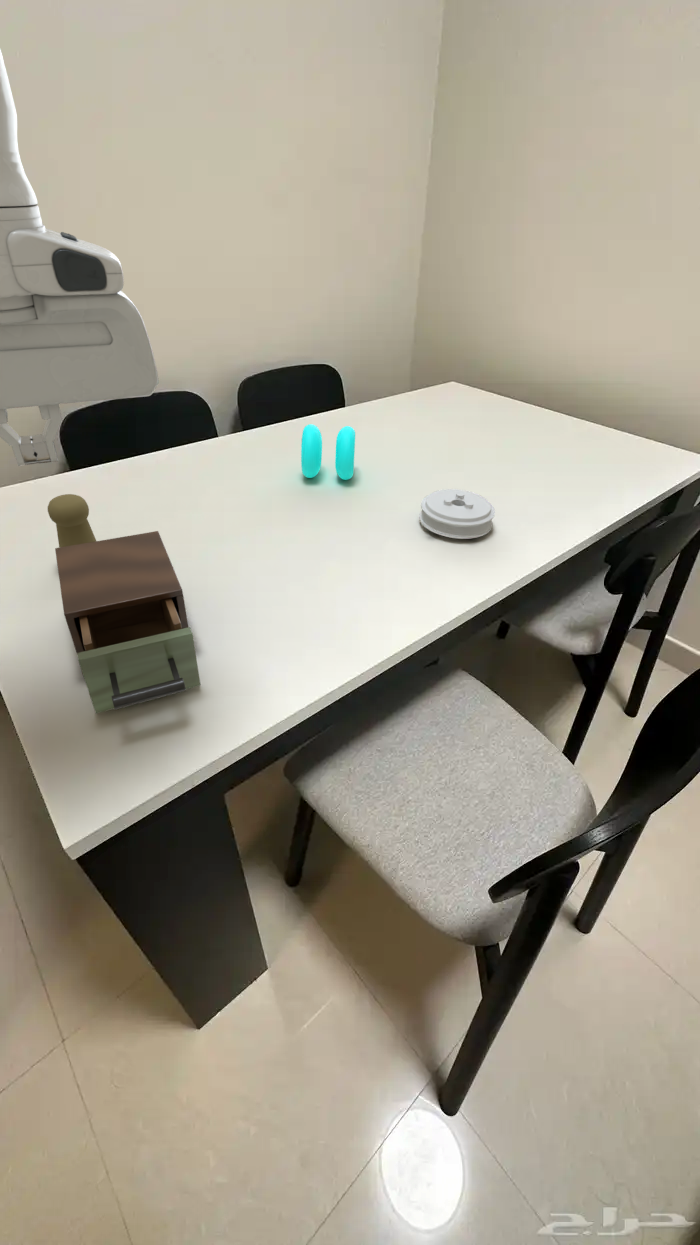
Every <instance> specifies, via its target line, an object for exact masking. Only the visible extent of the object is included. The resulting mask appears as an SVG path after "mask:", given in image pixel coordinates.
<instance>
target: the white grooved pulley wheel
mask: <svg viewBox="0 0 700 1245" xmlns="http://www.w3.org/2000/svg"><path fill="white" fill-rule="evenodd" d="M420 508H421V511H420V513H419V522H420V523H421V525H422V526H423V527H424V528H425V529H427V530H428V531H430V532H431V533H434V534H437V535H439V536H442V537H446V538H450V539H451V538H452V539H459V540H466V539H476V538H479V537H482V536H485V535H487V534H489V533H490V532H491V530H492V528H493V522H492V520H493V519H494V517H495V514H496V510H495V507H494V505H493V504H492V503H491V502H490V501H489V500H488V499H487V498H485V497H484V496H483V495H480V494H478V493H476V492H473V491H470V490H466V489H459V488H445V489H444V488H442V489H437V490H435V491H433V492H431V493H429V494H428V495H426V496H424V497H423V498H422V500H421V501H420Z"/></svg>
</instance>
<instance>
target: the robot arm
mask: <svg viewBox="0 0 700 1245" xmlns="http://www.w3.org/2000/svg"><path fill="white" fill-rule="evenodd" d="M24 168H25V167H24V166H23V163H22V160H21V155H20V149H19V143H18V113H17V108H16V104H15V100H14V96H13V92H12V88H11V83H10V80H9V74H8V71H7V67H6V64H5V60H4V56H3V53H2V48H0V439H1V440H2V441H4V442H5V443H6V444H7V445H8V446H11V449H12V452H13V455H14V458H15V461H16V464H17V466H18V467H22V466H28V465H35V464H47V463H54V462H59V458H58V453H57V449H56V445H55V442H54V441H55V440H56V437H57V435H58V431H59V428H60V425H61V423H62V420H63V416H62V413H61V412H62V411H61V408H60V405H65V404H75V403H76V404H77V403H88V402H100V401H108V400H122V399H133V398H143V397H144V398H145V397H150V396H152V395H153V394H154V392H155V390H156V389H157V387H158V386H159V382H160V381H159V372H158V367H157V363H156V359H155V355H154V351H153V347H152V344H151V340H150V336H149V334H148V330H147V327H146V324H145V322H144V318H143V316H142V315H141V313H140V311H139V310H138V308H137V306H136V305H135V304H134V302H133V301H132V300H131V299H130V297H128V295H127V294H126V293H125V292H124V291H123V289H124V284H125V281H124V280H125V278H124V271H123V266H122V263H121V261H120V259H119V258H118V257H117V255H116V254H114V252H112V251H110V250H109V249H107V248H106V247H103V246H101V245H98V244H96V243H93V242H89V241H86V240H84V239H80V238H77V237H76V236H75V235H73V234H70V233H66V232H64V231H61V232H59V231H56V230H53V229H50V228H46V224H44V222H43V219H42V215H41V211H40V207H39V202H38V199H37V195H36V192H35V190H34V189H33V186H32V183H31V182H30V180H29V179H28V176H27V174H26V172H25V169H24ZM30 407H31V408H32V407H37V408H38V410H39V413H40V417H41V419H42V420H44V421H45V423H44V426H43V430H42V433H41V434H33V435H21V436H20V434H18V432H17V431H16V430H15V429H14V428H13V427H12V426H11V425H10V424H9V423H8V422H9V420H8V419H9V418H8V416H9V414H8V410H10V409H20V408H30Z"/></svg>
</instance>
